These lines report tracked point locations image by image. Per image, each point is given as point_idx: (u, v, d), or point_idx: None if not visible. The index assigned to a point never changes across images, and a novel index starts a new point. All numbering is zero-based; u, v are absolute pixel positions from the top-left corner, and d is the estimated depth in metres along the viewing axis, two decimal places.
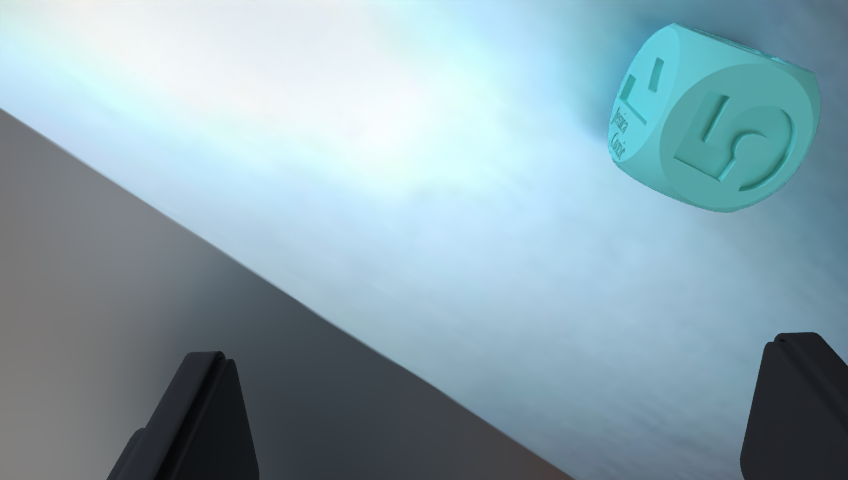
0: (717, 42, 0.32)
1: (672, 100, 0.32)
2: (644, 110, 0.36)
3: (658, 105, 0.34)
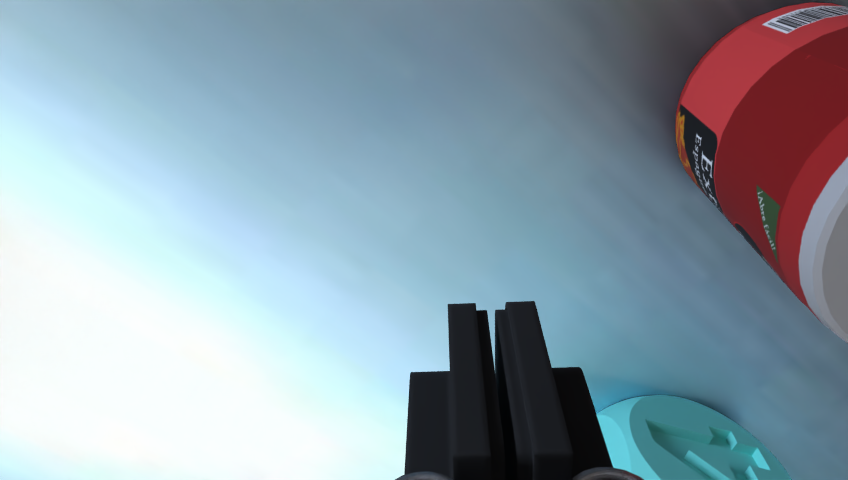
0: None
1: None
2: None
3: None
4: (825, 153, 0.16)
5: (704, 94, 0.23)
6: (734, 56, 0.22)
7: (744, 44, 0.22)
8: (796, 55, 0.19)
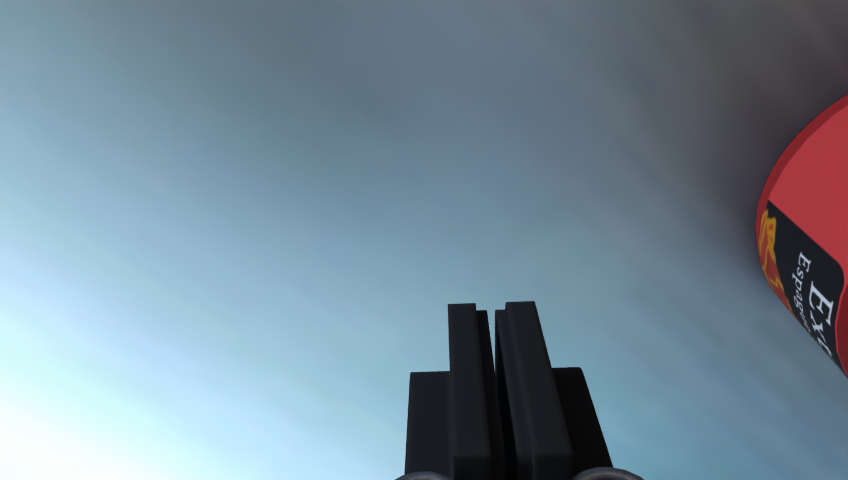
0: None
1: None
2: None
3: None
4: None
5: (812, 196, 0.15)
6: None
7: None
8: None
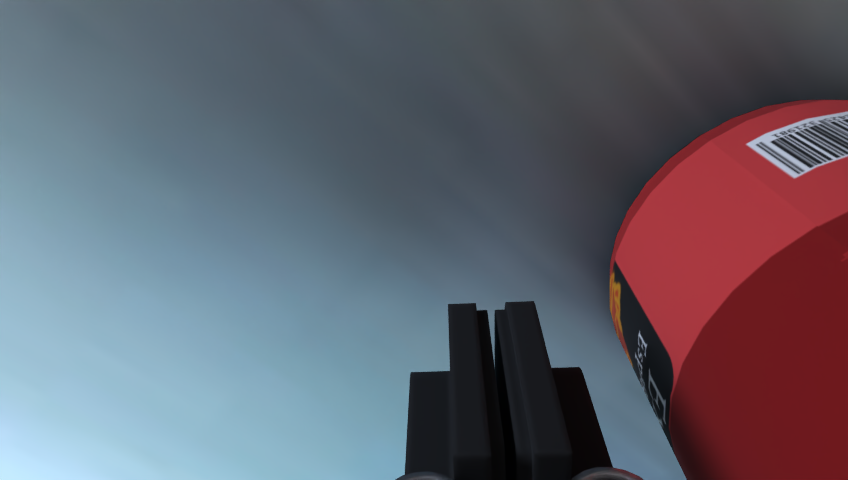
0: None
1: None
2: None
3: None
4: None
5: (650, 265, 0.13)
6: (699, 205, 0.12)
7: (716, 184, 0.12)
8: (820, 244, 0.10)
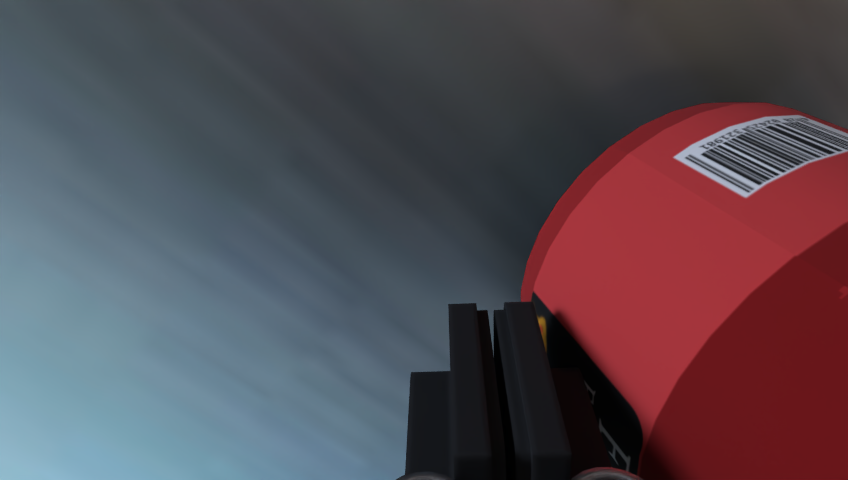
0: None
1: None
2: None
3: None
4: None
5: (588, 301, 0.11)
6: (637, 230, 0.11)
7: (653, 205, 0.11)
8: (807, 279, 0.09)
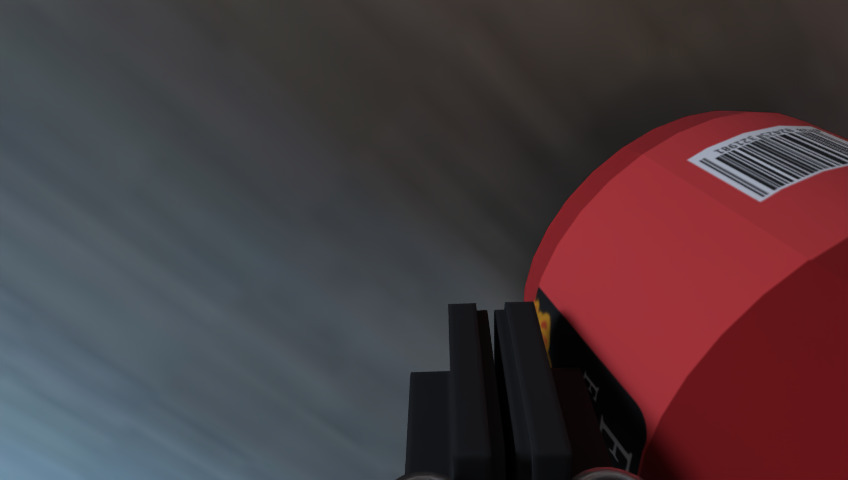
0: None
1: None
2: None
3: None
4: None
5: (595, 297, 0.11)
6: (650, 229, 0.11)
7: (666, 205, 0.11)
8: (821, 282, 0.09)
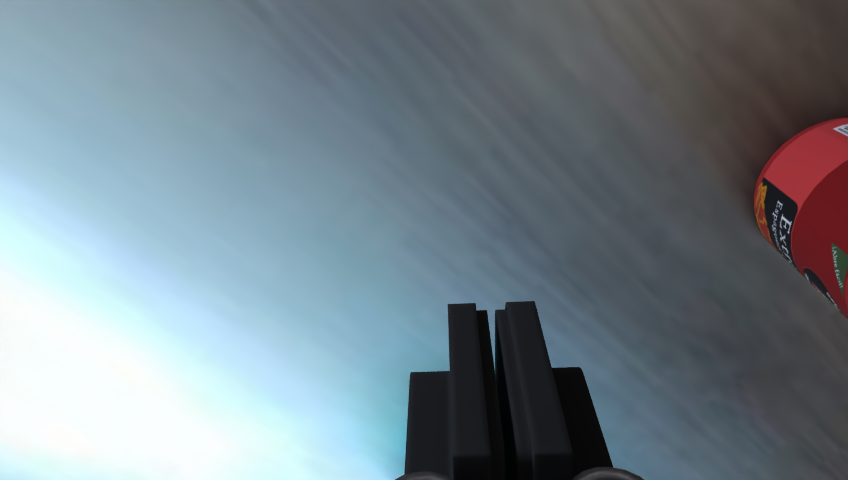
0: None
1: None
2: None
3: None
4: None
5: (786, 173, 0.31)
6: (812, 149, 0.30)
7: (820, 142, 0.30)
8: None
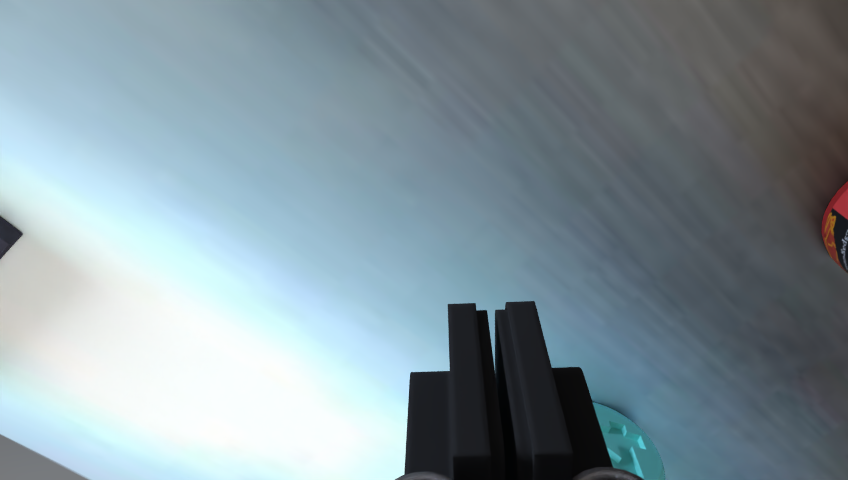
0: None
1: None
2: None
3: None
4: None
5: None
6: None
7: None
8: None
